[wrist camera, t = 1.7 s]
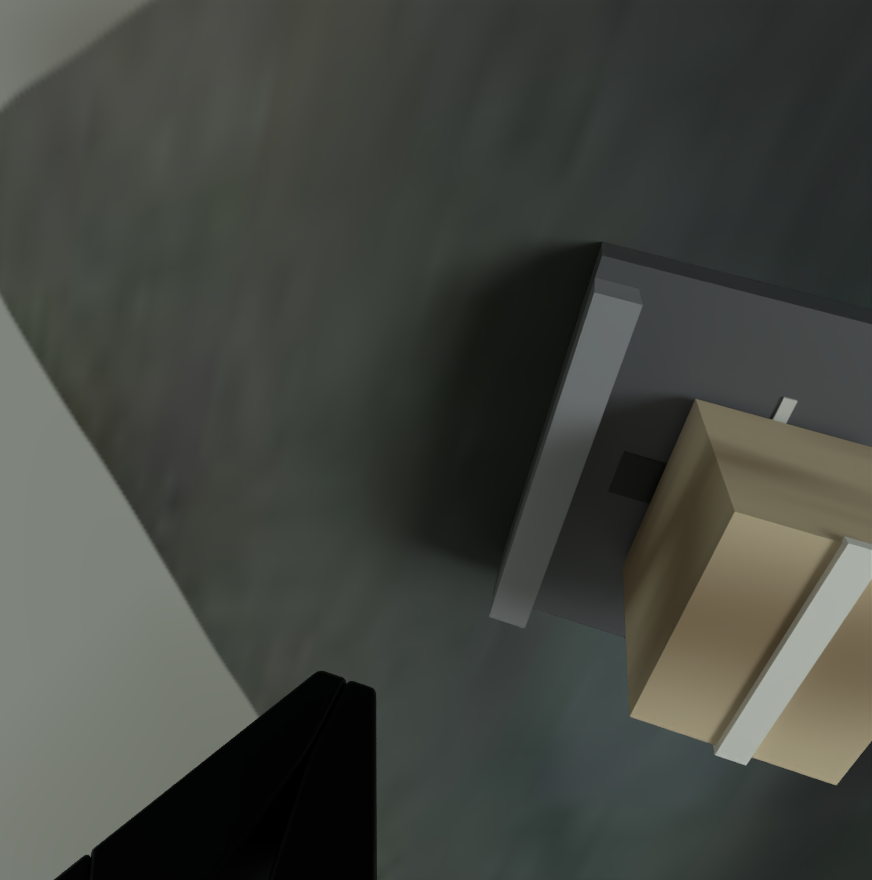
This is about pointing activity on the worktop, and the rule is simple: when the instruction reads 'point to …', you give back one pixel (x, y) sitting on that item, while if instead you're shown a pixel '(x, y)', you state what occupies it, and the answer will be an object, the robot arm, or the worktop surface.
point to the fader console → (663, 413)
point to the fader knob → (756, 594)
